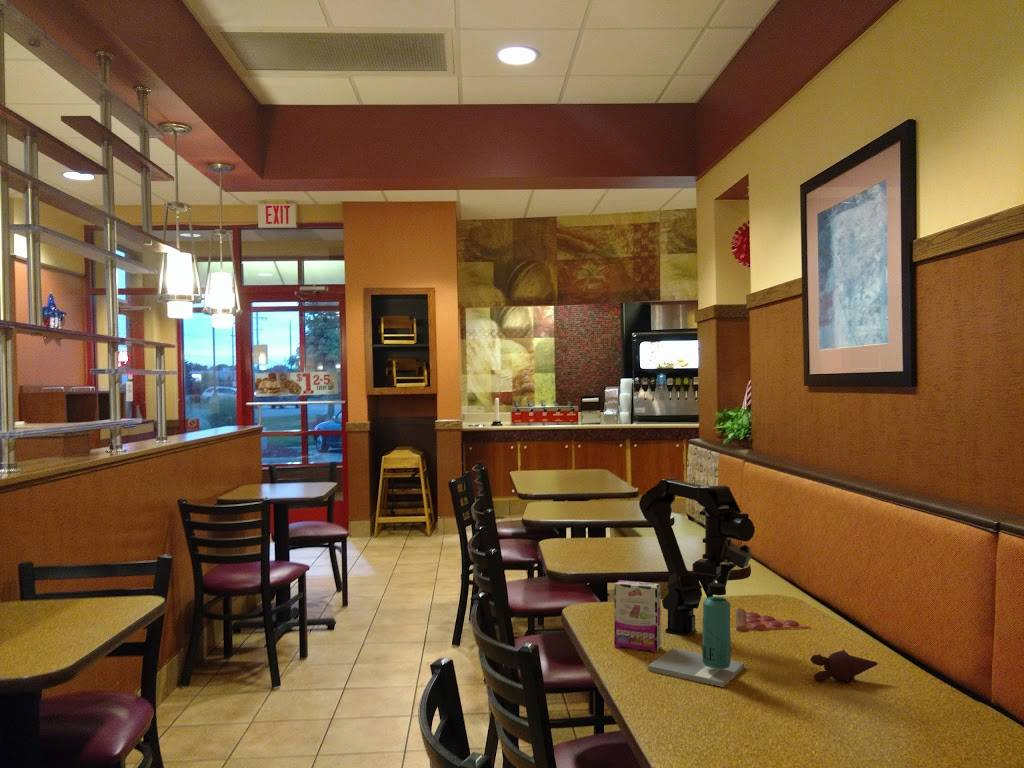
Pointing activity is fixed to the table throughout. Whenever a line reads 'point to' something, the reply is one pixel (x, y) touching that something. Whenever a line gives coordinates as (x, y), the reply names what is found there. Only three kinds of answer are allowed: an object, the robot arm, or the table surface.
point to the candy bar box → (637, 616)
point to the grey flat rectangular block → (693, 668)
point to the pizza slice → (762, 622)
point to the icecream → (841, 666)
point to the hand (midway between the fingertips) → (716, 595)
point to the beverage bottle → (716, 628)
